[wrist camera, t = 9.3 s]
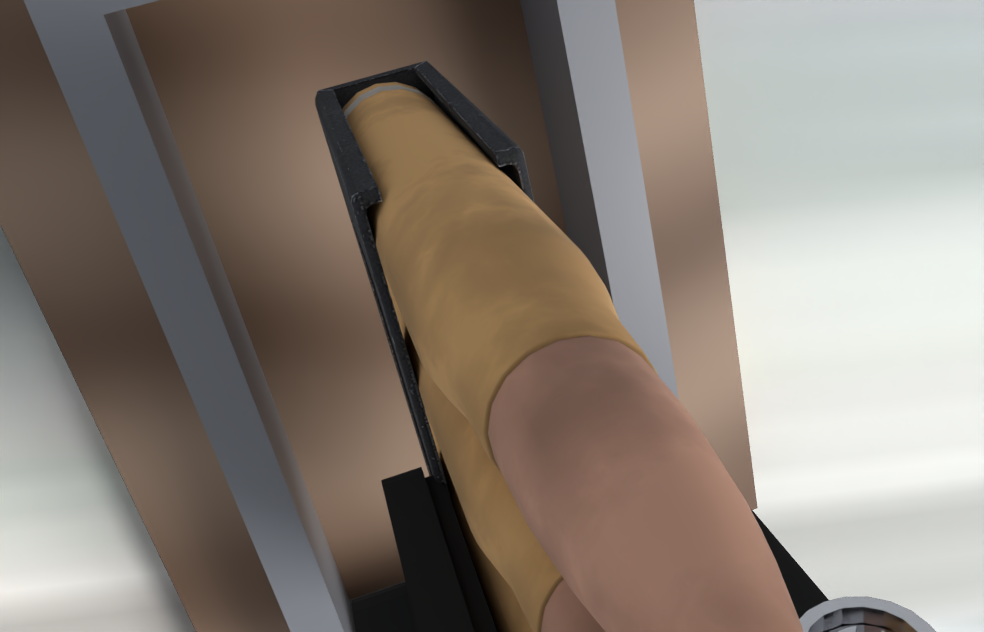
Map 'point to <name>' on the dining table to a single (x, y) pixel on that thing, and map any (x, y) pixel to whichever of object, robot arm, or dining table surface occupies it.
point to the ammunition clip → (536, 385)
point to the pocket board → (325, 253)
